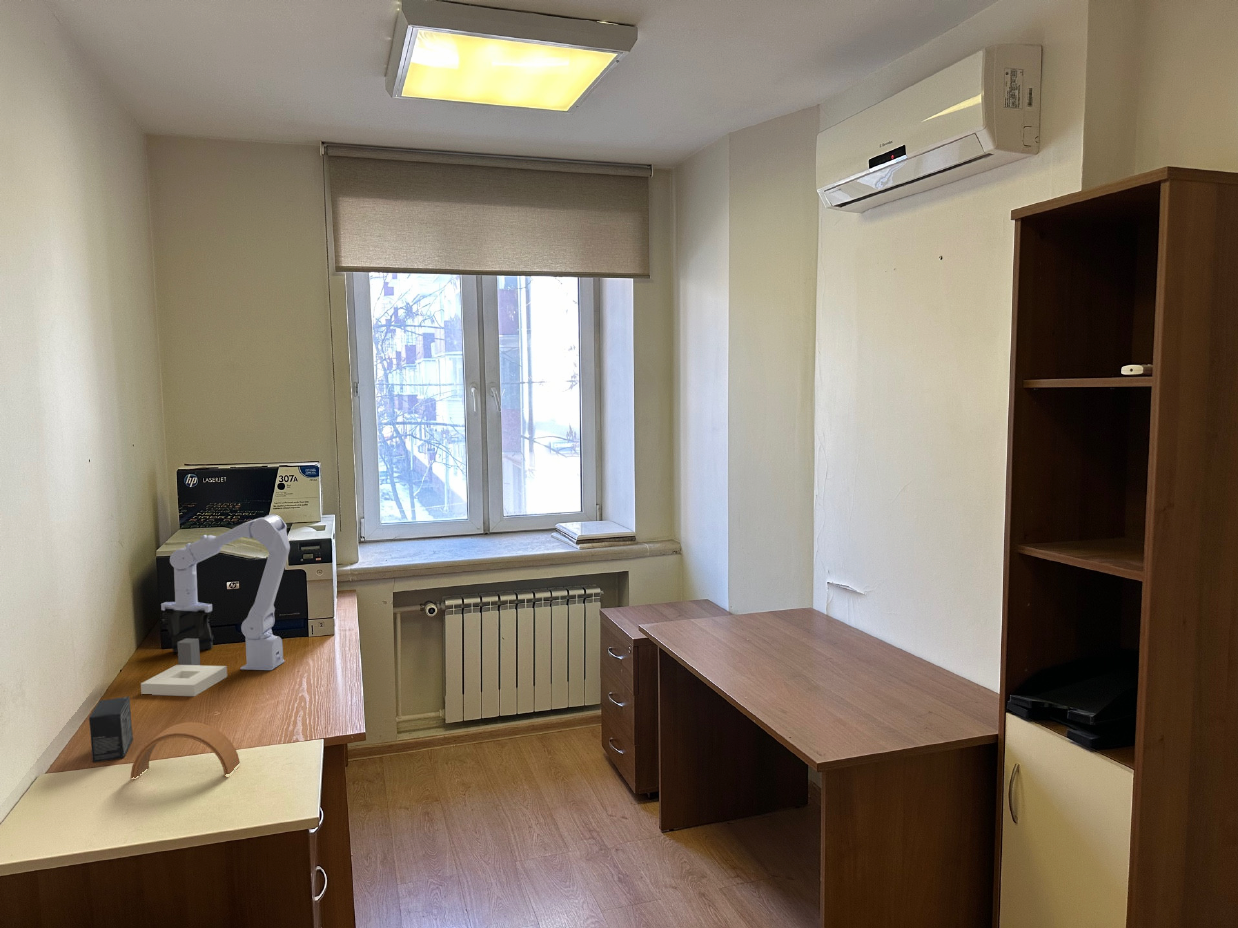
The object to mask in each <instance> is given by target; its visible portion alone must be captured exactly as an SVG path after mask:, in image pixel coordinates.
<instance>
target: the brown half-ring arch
mask: <svg viewBox="0 0 1238 928" xmlns="http://www.w3.org/2000/svg"><path fill="white" fill-rule="evenodd" d="M175 738H184V739H191V740H193V741H197V742H199V743H201V744H203V745H205V747H207V748H208V749H209V750H210V751H212V752H213V754H215V756H216V758H217V759H218V761H220V764H221V767H222V770H223V773H224V776H225V775H226V774H230V773H231V772H232V771H233V770H234V768H235V767H236V766H237V765H238V764H239V763H240V764H241V761H240V758H239V755H238V752H237V750H236V747H235V746H234V744H233V743H232V741H231V740H230V739H229V738H228V737H227V735H226V734H224V733H223V732H221V731H220V730H219V729H217V728H215V727H213V726H212V725H208V724H205V723H200V722H193V721H192V722H182V723H181V722H180V723H178V724H174V725H172V726H171V725H170V727H167V728H166V729H164V730H163V731H161V732H160V733H159V734H157V735H156V736H155V737H154V738H153V739H151V740H150V741H149V742H148V743H146V745H144V747H143V748H142V749H141V750H139V752H138V754H137V756H136V757H135V758H134V761H133V763H132V766H131V771H130V779H131V778H133V777H134V778H136V777H137V776H140V774H142V772H144V771H145V770H146V769H148V768H149V769H150V759H151V755H152V753H153V750H154V749H155V747H156V745H157V744H159V743H161V742H162V741H166V740H169V739H175ZM149 769H148V770H149ZM140 777H141V776H140Z"/></svg>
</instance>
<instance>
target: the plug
mask: <svg viewBox="0 0 1238 928" xmlns="http://www.w3.org/2000/svg"><path fill="white" fill-rule="evenodd" d="M177 646H178V653H177V660H178V665H201V654H200V651H201V650H199V639H191V638H186V639H184V640H181V641H179V642H177Z"/></svg>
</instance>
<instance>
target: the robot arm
mask: <svg viewBox="0 0 1238 928" xmlns="http://www.w3.org/2000/svg"><path fill="white" fill-rule="evenodd" d="M287 525H288V524H286V523H285V522H284V520H283V518H282V517H280V516H279V515H277V514H272V513H271V514H267V515H265V516H264V517H258V518H255V519H252V520H249V521H247V522H243V523H241V524H239V525H237V526H235V527H234V528H231V529H229V530H227V531H225V532H223V533H221V534H220V535H217V536H216V535H212V534H209V535H207V534H204V535H202V536H200V537H199V538H200V539H198V540H196V541H194V542H192V543H191V542H188V543H187V544H185V546H184V547H181V548H178V549H176V550H175V551H173V552H172V553H171V555H170V557H169V564H170V565H171V566H172V567H173V572H174V573H173V574H174V575H173V577H174V580H173V581H174V601H165V602H163V603H161V604H160V606H161V609H160V610H161V611H164V612H161V613H162V614H161V615H162V617H163V618H165V619H166V621H167V623H168V625H169V627H170V630H171V633H172V635H173V636H174V635H177V634H179V618H180V612H181V610H182V611H198V613H194V614H193V617H194V620H195V625H196V635H197V637H200V636H202V635H203V633H204V629H205V625H206V622H207V620H208V618H209V619H210V616H211V615H212V611H213V604H212V603H204V602H199V600H198V599H199V598H198V577H197V576H198V575H197V572H198V571H197V565H198V563H200V562H203V561H205V560H207V559H209V558H211V557H213V556H215V555H217V554H219V553H220V552H221V550H222V547H223V546H225V545H228V544H230V543H232V542H234V541H236V540H239V539H241V538H243V537H245V538H247V539H252V538H253V539H254V540H256V541H257V542H259V543H260V544H261V545H262V546H264V547H265V549H266V550H267V551H268V557H267V559H266V564H265V567H264V570H263V573H262V577H261V579H260V583H259V585H258V586H259V587H258V590H257V594H256V597H255V600H254V602H253V605H252V606H251V608H250V610H249V612H248V615H247V617H246V618H244V620H243V621H242V624H241V626H240V628H241V633H242V634H243V635H244V637H245V655H246V656H245V657H246V664H244V665H243V666H240V670H246V671H249V670H250V671H251V670H252V671H272V670H274V669H276V668H277V667H279V666H280V665H282V664H284V663H285V661H286V660H285V659H284V648H283V639H282V638H281V637H280V636H277V635H274V634H273V630H272V627H274V625H275V621H276V619H275V610H276V608H275V606H274V605H275V601H276V597H277V593H278V591H279V587H280V583H281V580H282V578H283V575H284V574H283V573H284V570H285V567H286V563H287V560H288V558H289V554H290V550H291V545H290V541H289V538H288V537H289V536H288V532H287V529H288V528H287Z"/></svg>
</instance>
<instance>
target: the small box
mask: <svg viewBox="0 0 1238 928" xmlns="http://www.w3.org/2000/svg"><path fill="white" fill-rule="evenodd" d="M130 698H131V697H130V696H124V697H117V698H116V697H115V698H110V699H103V700H99V701H98V703H97V704H96V706H95V707H94V709H93V710H92V712H91V713H90V715H89V717H88V720H89V721H88V722H89V732H90V734H89V735H90V746H91V760H92V763H97V762H98V763H99V762H107V761H111V760H112V761H113V760H120V759H124V758H125V757H126V756H127V753H128V751H129V749H130V746H131V745H132V743H133V741H134V736H133V735H134V734H133V726H132V715H131V714H132V713H131V699H130Z"/></svg>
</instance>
